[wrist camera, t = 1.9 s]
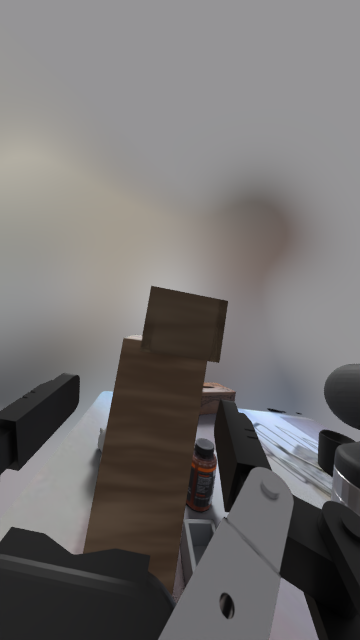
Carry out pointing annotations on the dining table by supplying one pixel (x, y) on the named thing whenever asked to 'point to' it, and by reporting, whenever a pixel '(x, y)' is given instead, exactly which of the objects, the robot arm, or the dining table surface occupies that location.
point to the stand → (147, 457)
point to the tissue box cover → (214, 397)
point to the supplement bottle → (202, 476)
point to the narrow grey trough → (194, 543)
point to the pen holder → (330, 448)
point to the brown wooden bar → (184, 325)
